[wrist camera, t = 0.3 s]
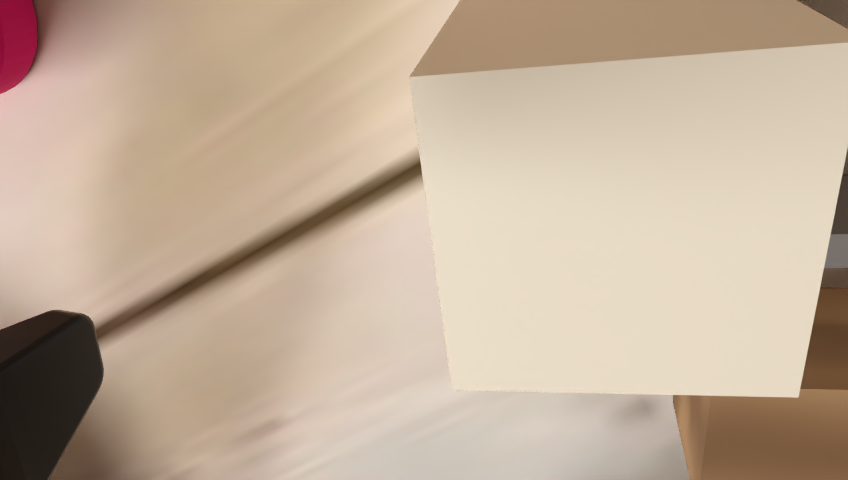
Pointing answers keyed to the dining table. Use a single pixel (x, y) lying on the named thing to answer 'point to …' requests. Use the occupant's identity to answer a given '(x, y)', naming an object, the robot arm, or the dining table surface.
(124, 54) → the dining table surface
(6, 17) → the pepper mill
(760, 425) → the brown wooden block
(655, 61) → the post bracket
